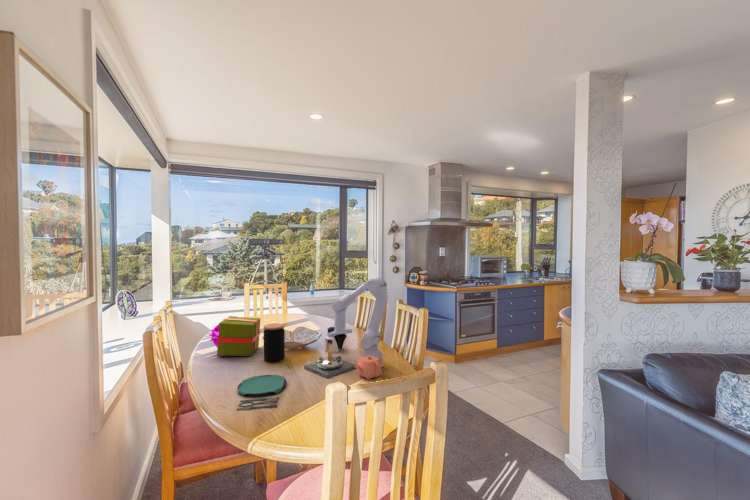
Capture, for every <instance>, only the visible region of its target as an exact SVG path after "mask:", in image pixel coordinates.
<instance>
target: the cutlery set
mask: <svg viewBox="0 0 750 500" xmlns="http://www.w3.org/2000/svg"><path fill="white" fill-rule="evenodd" d="M286 384H287V379H286V377H285V376H282V375H279V374H263V375H262V374H261V375H253V376H250V377H248V378H245V379H243V380H242V381H241V382H240V383H239V384H238V385H237V393H238V394H239V395H242V396H246V395H247V396H264V395H268V394H272V393H275V394H279V393H281V391H282V390H283V388H284V387H285V386H286ZM271 399H272V400H271ZM279 399H280V396H277V397H260V398H250V399H242V400H240V403H238V406H239V408H236V411H237V412H238V411H251V410H253V409H265V408H277V407H278V402H279ZM256 401H259V402H256ZM266 403H269V404H266ZM270 403H272V404H270ZM246 404H248V405H246ZM249 404H250V405H249ZM259 404H266V405H259ZM254 405H255V406H254Z"/></svg>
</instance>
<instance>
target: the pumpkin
mask: <svg viewBox="0 0 750 500" xmlns="http://www.w3.org/2000/svg"><path fill="white" fill-rule="evenodd" d="M357 361H358V362H357V363H356V364H355V366H354V367H355V368H354V369H356V372H357V374H358V375H360V376H359V378H366V381H371V380H372V378H377V377H378V378H379V376H381V375H382V372H383V371H382V367H381V357H379V356H378V357H373V356H371V355H368V356H365V357H363V356H362V355H360V356H359V357H358V360H357Z"/></svg>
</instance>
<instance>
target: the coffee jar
mask: <svg viewBox="0 0 750 500" xmlns="http://www.w3.org/2000/svg"><path fill="white" fill-rule="evenodd" d="M263 329H264V330H263V359H264V361H265V362H267V363H278V362H281V361H283V360H284V359H285V357H286V352H285V349H286V348H285V347H286V346H285V343H286V341H285V338H286V337H285V324H284V323H280V322H279V323H278V322H277V323H269V324H267V323H266V324H264V325H263Z"/></svg>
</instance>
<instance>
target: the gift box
mask: <svg viewBox="0 0 750 500" xmlns="http://www.w3.org/2000/svg"><path fill="white" fill-rule="evenodd" d="M260 328H261V318H260V317H247V316H246V317H244V316H242V317H241V316H236V315H234V316H233V315H229V316H228V317H226V318H224V319H222V320H221V321H220V322H219V323H218V324H216V325H215V326H214V327H213V328H212V329H210V332H211V334H210V335H209V336H210V337H211V339H210V342H211V343H213V345H214V346H215V347H216V349H217V350H216V351H217V352H216V356H220V357H223V356H224V357H227V356H229V357H230V356H233V357H234V356H237V357H251V356H252V355H253V354H255V353H256V351H257V349H258V348H259V346H260V345H259V343H260V335H261V330H260Z"/></svg>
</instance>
